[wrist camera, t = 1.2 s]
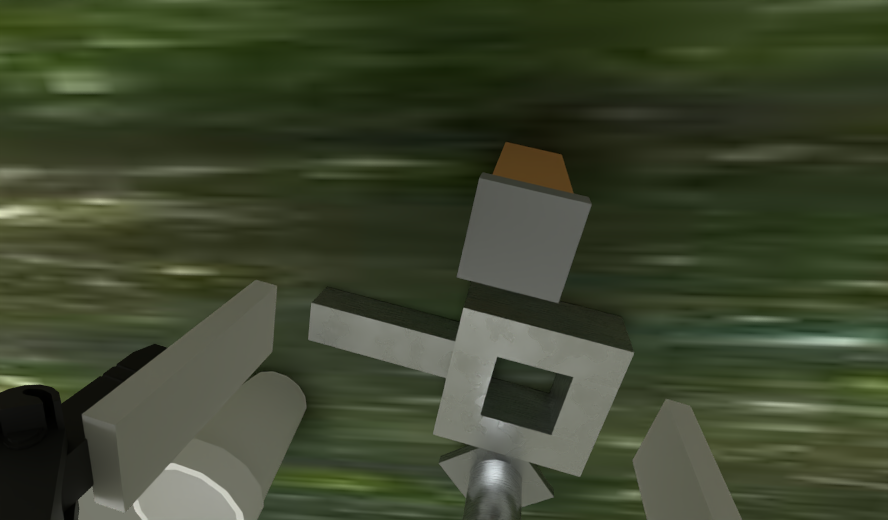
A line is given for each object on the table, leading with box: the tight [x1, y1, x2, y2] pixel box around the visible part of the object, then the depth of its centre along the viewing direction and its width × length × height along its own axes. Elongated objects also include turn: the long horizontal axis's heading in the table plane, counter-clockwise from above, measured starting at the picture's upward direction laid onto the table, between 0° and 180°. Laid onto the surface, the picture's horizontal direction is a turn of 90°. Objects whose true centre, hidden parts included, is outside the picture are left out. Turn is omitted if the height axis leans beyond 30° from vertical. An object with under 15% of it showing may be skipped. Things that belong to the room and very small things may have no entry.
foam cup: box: [133, 371, 307, 520], centre depth 40 cm, size 10×9×13 cm
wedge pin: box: [457, 142, 592, 303], centre depth 27 cm, size 5×5×14 cm
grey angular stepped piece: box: [308, 281, 634, 520], centre depth 33 cm, size 20×24×18 cm
